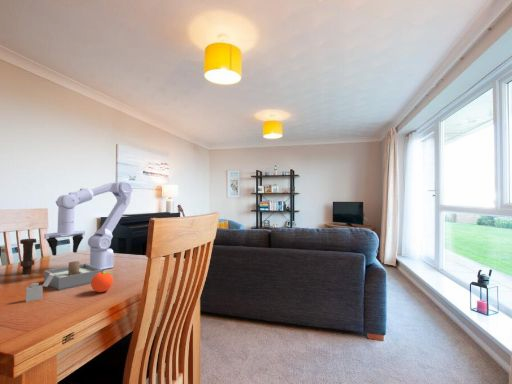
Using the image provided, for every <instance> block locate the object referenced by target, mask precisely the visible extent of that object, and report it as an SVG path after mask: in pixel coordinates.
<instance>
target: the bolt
mask: <svg viewBox="0 0 512 384" xmlns="http://www.w3.org/2000/svg"><path fill="white" fill-rule="evenodd" d="M19 243H20V244H21V245H22V247H23V248H22V261H20V267H22V271H21V272H22V273H21V274H22V275H29V274H31V273H32V268H33V267H32V266H34V265H35V260H34V259H33V250H34V249H33V248H34V244H36V243H37V239H36V238H23V239H20V240H19Z"/></svg>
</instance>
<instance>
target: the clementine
mask: <svg viewBox="0 0 512 384" xmlns="http://www.w3.org/2000/svg"><path fill="white" fill-rule="evenodd" d="M111 274H112V272H110V271H103V272H101V273H98V274H96V275H95V276H94V277H93V279H92V281H91V283H90V287H91V288H92V290H93V291H94V292H97V293H104V292H107V291H108V290H110V288H111V287H112V286H113V282H114V278H113V276H112V275H111ZM113 275H114V276H116V275H115V274H114V273H113Z"/></svg>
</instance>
